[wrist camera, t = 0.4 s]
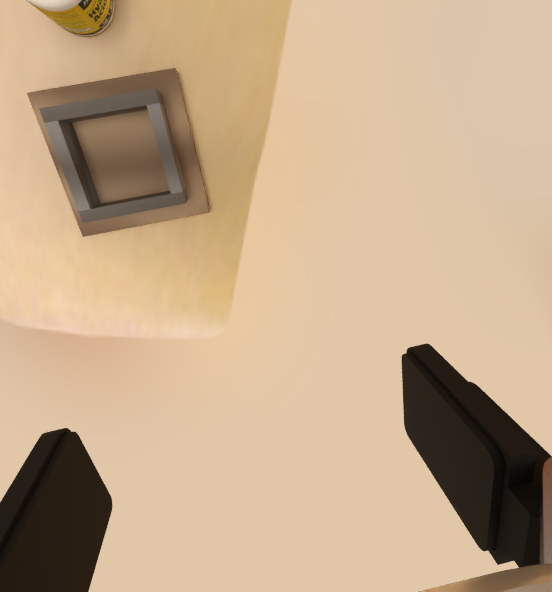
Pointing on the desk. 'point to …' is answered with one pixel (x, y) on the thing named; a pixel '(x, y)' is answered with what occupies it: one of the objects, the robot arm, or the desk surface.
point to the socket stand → (123, 150)
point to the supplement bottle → (78, 14)
